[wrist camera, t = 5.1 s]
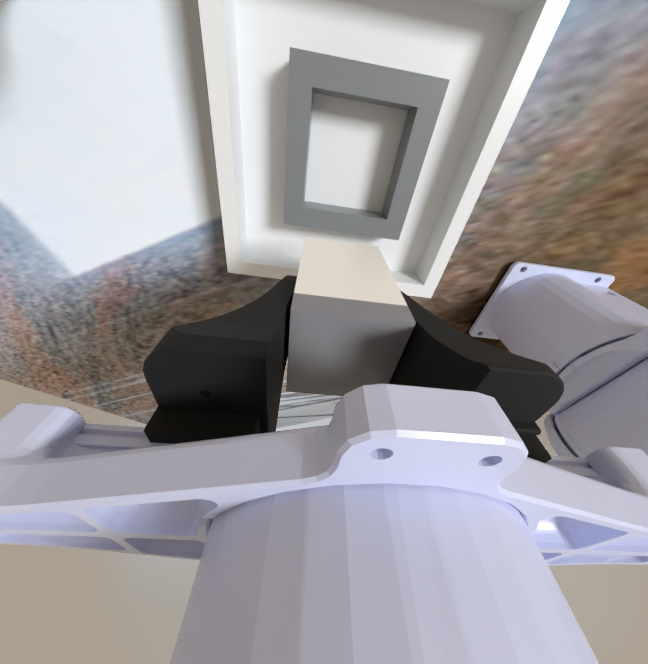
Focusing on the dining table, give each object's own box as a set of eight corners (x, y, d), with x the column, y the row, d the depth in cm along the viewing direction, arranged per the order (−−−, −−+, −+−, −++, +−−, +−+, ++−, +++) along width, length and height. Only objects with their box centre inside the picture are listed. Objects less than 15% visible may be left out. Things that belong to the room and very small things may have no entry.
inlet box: (538, -7, 12) (588, -40, 10) (419, 281, 22) (431, 298, 20) (212, -86, 11) (182, -146, 9) (238, 257, 21) (227, 272, 19)
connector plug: (378, 246, 13) (415, 322, 8) (362, 308, 16) (381, 399, 10) (304, 237, 13) (290, 309, 8) (299, 301, 16) (286, 391, 10)
